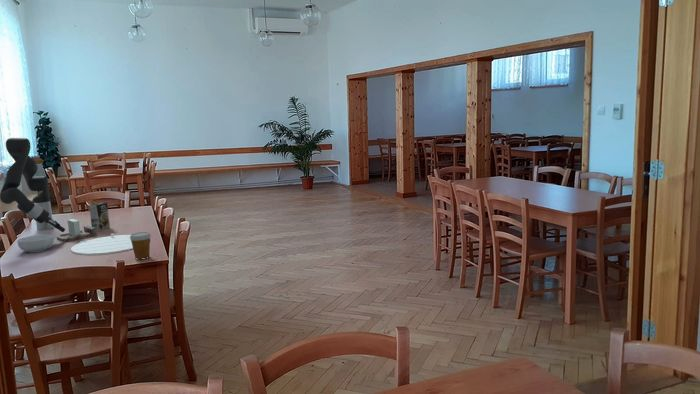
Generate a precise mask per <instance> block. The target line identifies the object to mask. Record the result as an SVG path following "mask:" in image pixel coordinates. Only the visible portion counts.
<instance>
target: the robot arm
mask: <svg viewBox="0 0 700 394" xmlns="http://www.w3.org/2000/svg"><path fill="white" fill-rule="evenodd" d="M5 149H6V151H7V153H8V154H9V156H10V157H11V158H12V160H14V163H12V165H11V166H9V168H8V170H7V171H6V174H5V176H6V177H5V182H4V184H3V186H2V188H1V190H0V201H1V202H2V203H3V204H5V205H6V204H7V205H8V204H12V203H13V202H16V203H17V205H16V207H17V209H18V210H19V211H21V212H22V213H24V214H26V215H27V217H29V218H30V219H32V220H34V221H35V224H36V229H37V231H46V230H50V229H53V228H54V229H56V230H57V231H59V232H62V233H64V232H65V231H66V228H65V227H64V226H61V224H60V223H59V222H58V221H57V220H55V219H54V218H53V213H52V206H51V205H52V204H51V198H50V197H51V196H50V187H49V186H50V185H49V179H48V177H47V176H46V175H37V176H35V175H36V174H37V172H38V169H39V168H38V164H37V162H36V161H35V159H34V158H33V157H32V156H30V151H31V142H30V140H29V138H27V137H9V138H7V139H6V141H5ZM22 177H23V178H24V180H25V182H26V185H27V188H28V189H29V190H30V191H31V192H42V193H41V194H39V195H37V196H35V197H33V198H32V200H30V199H29V198H28V197H27V196H26V195H25V194H24V193H23V191H22V190H20V189H19V187H20V185H21V182H22Z"/></svg>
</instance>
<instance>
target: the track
mask: <svg viewBox="0 0 700 394" xmlns="http://www.w3.org/2000/svg"><path fill="white" fill-rule="evenodd" d="M80 233H81V234H79V235H74V236H73V235H70V234H69V232H67V233H61V234H60V235H59V236H56V240H58V241H60V242H63V243H66V242H71V241H77V240H82V239H87V238H91V237H97V236H98V234H97V231H96V228H94V227H92V226H89V225H85V226H83V230H81V229H80Z"/></svg>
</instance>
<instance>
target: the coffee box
mask: <svg viewBox="0 0 700 394" xmlns="http://www.w3.org/2000/svg"><path fill="white" fill-rule="evenodd" d="M88 207H89V213H90V214H89V215H90V223H91V224H90V225H91V227H94V228H96V232H101V231H105V230H108V229H110V228H111V227H110V226H111V225H110V224H111V223H110V217H109V209H108V208H109V207H108V202H96V203H93V204H89V205H88Z"/></svg>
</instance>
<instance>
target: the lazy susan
mask: <svg viewBox="0 0 700 394" xmlns="http://www.w3.org/2000/svg"><path fill="white" fill-rule="evenodd" d="M130 235H131V234H122V235H121V234H120V235H119V234H118V235H115V233H112V232H111V233H110V236H103V237H97V238H92V239H89V240H81V241H79V242H78V243H76V244H74V245H73V246H71V248H70V252H71V253H72V254H75V255H80V256H101V255H109V254H117V252H118V253H122V252H121V251H124V252H126V251H125V250H128V251H131V250H130V249H132V250H133V246H132V242H131V240H130Z"/></svg>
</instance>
